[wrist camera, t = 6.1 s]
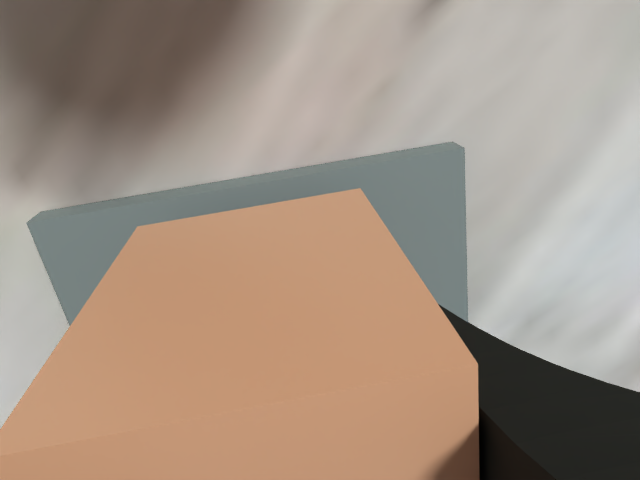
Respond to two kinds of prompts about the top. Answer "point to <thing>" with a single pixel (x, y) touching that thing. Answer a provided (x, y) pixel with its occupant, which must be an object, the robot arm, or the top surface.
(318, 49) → the top surface
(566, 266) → the top surface
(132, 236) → the orange cube on tile
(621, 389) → the robot arm
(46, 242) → the slate board
